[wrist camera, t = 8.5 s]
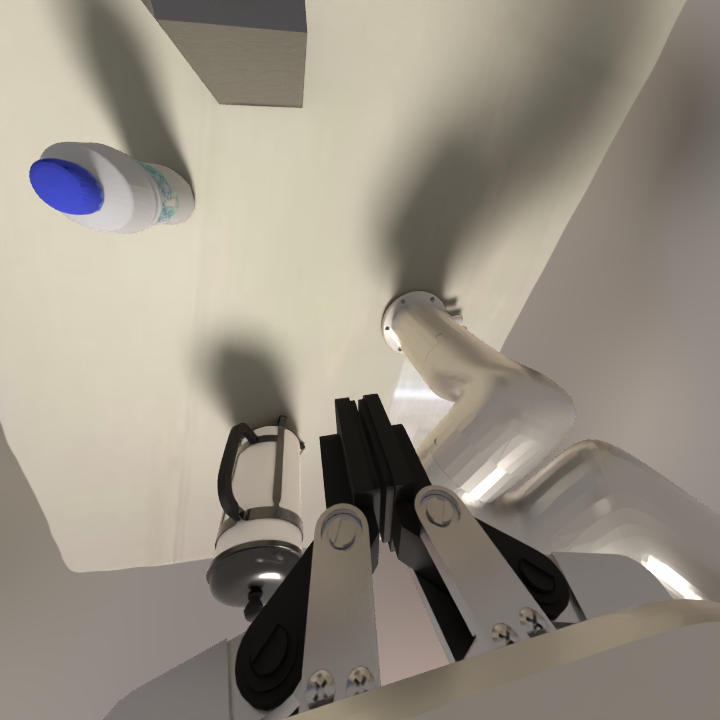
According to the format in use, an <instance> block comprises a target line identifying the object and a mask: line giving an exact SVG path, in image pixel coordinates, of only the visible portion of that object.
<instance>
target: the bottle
mask: <svg viewBox="0 0 720 720" xmlns="http://www.w3.org/2000/svg"><path fill="white" fill-rule="evenodd" d="M29 173H30V175H29V177H30V182H31V184H32V187H33V188H34V190H35V192H36V193H37V194H38V196H39V197H40V198H41V199H42V200H43V201H44V202H45V203H47V204H48V205H49V206H51V207H53V208H55V209H56V210H58V211H60V212H61V213H63V214H64V215H65V216H66V217H68V218H69V219H70V220H72V221H74V222H75V223H77V224H79V225H81V226H83V227H86V228H88V229H91V230H95V231H101V232H112V233H118V234H134V233H137V232H141V231H144V230H146V229H149V228H150V227H152V226H155V225H175V224H180V223H183V222H185V221H187V220H188V219H189V217H190V216H191V214H192V213H193V211H194V209H195V201H194V198H193V194H192V191H191V187H190V186H189V184H188V183H187V182H186V181H185V180H184V179H183V178H182V177H181V176H180V175H179V174H177V173H176V172H175V171H173V170H172V169H170V168H168V167H165V166H162V165H158V164H153V163H145V162H142V161H138V160H135V159H133V158H132V157H130V156H128V155H127V154H125V153H123V152H121V151H119V150H116V149H114V148H111V147H109V146H106V145H103V144H99V143H79V142H61V143H56V144H54V145H52V146H50V147H48V148H47V149H46V150H45V151H44V152H43V154H42V155H41V157H40V160H38V161H36V162H35V163H33V165H32V166H31V168H30V171H29Z"/></svg>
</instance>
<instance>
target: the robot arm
mask: <svg viewBox="0 0 720 720" xmlns="http://www.w3.org/2000/svg"><path fill="white" fill-rule="evenodd" d="M430 298H431V299H430ZM401 300H403V301H401ZM462 320H463V317H462V315H454V316H451V315H449V314H448V313H447V312H446V309H445V307H444V304H443V303H442V302H441V300H440V299H439V298H437V297H436V296H435V295H433V294H431V293H429V292H426V291H412V292H408V293H406V294H404V295H402V296H400V297H399V298H397V299H396V300H395V301H394V302H393V303H392V304H391V305H390V306H389V307H388V309H387V310H386V312H385V315H384V317H383V321H382V334H383V337H384V340H385V341H386V343H387V344H388V346H389V347H390V348H391V349H392V350H394V351H395V352H397V353H400V354H404V355H406V357H407V358H408V359H409V361H410V362H411V363H412V365H413V366H414V367H415V369H416V370H417V372H418V373H419V374H420V376H421V377H422V378H423V380H424V381H425V382H426V384H427V385H428V386H429V388H430V389H431V390H432V391H433V392H434V393H435V394H436V395H438V396H439V397H441V398H443V399H445V400H448V401H452V402H455V404H454V405H453V406H452V407H451V408H450V409H449V411H448V412H447V414H446V415H445V416H444V417H443V418H442V419H441V420H440V421H439V423H438V424H437V425H436V426H435V427H434V428H433V429H432V430H431V432H430V433H429V434H428V435H427V436H426V438H425V439H424V440H423V441H422V442H421V444H420V445H419V447H418V448H417V450H416V451H415V449H414V447H413V445H412V443H411V441H410V439H409V436H408V434H407V432H406V430H405V428H404V427H403V425H402V424H397V425H391V424H390V421H389V419H388V417H387V414H386V412H385V410H384V407H383V405H382V403H381V400H380V398H379V396H378V394H370V395H364V396H363V399H361V400H358V409H357V406H356V403H355V400H353V401H350V399H349V397H348V398H340V399H335V411H336V424H337V434H333V435H327V436H321V437H319V438H320V449H321V459H322V469H323V479H324V489H325V499H326V510H325V511H324V512H323V513H322V514H321V516H320V517H319V519H318V521H317V523H316V527H315V533H314V540H313V542H312V543H311V544H310V546H309V547H308V548H307V550H306V551H305V553H304V554H303V555H302V556H301V558H300V559H299V560H298V562H297V563H296V564H295V566H294V567H293V568H292V570H291V571H290V572H289V574H288V575H287V576H286V578H285V579H284V580H283V582H282V583H281V585H280V586H279V587H278V589H277V590H276V591H275V593H274V594H273V595H272V597H271V598H270V599H269V601H268V602H267V603H266V605H265V606H264V607H263V609H262V610H261V611H260V613H259V614H258V615H257V617H256V618H255V619H254V621H253V622H252V623H251V625H250V626H249V628H248V629H247V631H245V632H244V633H242V634H240V635H238V636H237V637H235V638H233V639H231V640H229V641H228V639H225V640H223V641H221V642H219V643H218V644H216V645H214V646H212V647H210V648H209V649H207V650H205V651H203V652H201V653H200V654H198V655H196V656H194V657H193V658H191V659H189V660H187V661H185V662H184V663H182V664H180V665H178V666H176V667H175V668H173V669H171V670H169V671H167V672H166V673H164V674H162V675H160V676H158V677H157V678H155V679H153V680H151V681H149V682H148V683H146V684H144V685H142V686H140V687H139V688H137V689H135V690H133V691H132V692H131V693H129V694H128V695H127V696H125V697H124V698H123V699H121V700H120V701H119V702H118V703H117V704H116V705H115V706H114V707H113V708H112V710H111V711H110V712H109V713H108V714H107V716H106V717H105V718H104V719H103V720H720V515H718V514H717V513H716V512H714V511H713V510H711V509H710V508H708V507H707V506H706V505H704V504H703V503H701V502H700V501H698V500H697V499H695V498H694V497H693V496H691V495H690V494H688V493H687V492H686V491H684V490H683V489H681V488H680V487H678V486H677V485H675V484H674V483H672V482H671V481H670V480H668V479H667V478H665V477H664V476H662V475H661V474H659V473H658V472H657V471H655V470H653V469H652V468H651V467H649V466H648V465H646V464H645V463H643V462H642V461H640V460H639V459H637V458H636V457H634V456H632V455H631V454H629V453H627V452H625V451H624V450H622V449H620V448H619V447H617V446H614V445H612V444H610V443H608V442H604V441H600V440H590V439H588V440H583V441H580V442H578V443H576V444H573V445H572V446H570V447H569V448H567V449H565V450H564V451H563V452H562V453H560V454H559V455H557V456H556V457H555V458H554V459H553V460H552V461H550V462H549V463H548V464H547V465H546V466H544V467H543V468H542V469H541V470H540V471H539V472H537V473H536V474H535V475H534V476H533V477H532V478H531V479H529V480H528V481H527V482H526V483H525V484H523V485H522V486H521V487H520V488H519V489H518V490H516V491H514V492H510V491H508V490H509V489H510V488H511V487H513V486H514V485H515V484H516V483H517V482H518V481H519V480H520V479H522V478H523V477H525V476H526V475H527V474H528V473H529V472H531V471H532V470H533V469H534V468H535V467H536V466H537V465H539V464H540V463H541V462H542V461H543V460H544V459H545V458H546V457H548V456H549V455H550V454H551V453H552V452H553V451H555V450H556V448H557V447H558V446H559V445H560V444H561V443H562V442H563V441H564V440H565V438H566V437H567V436H568V435H569V433H570V431H571V430H572V428H573V425H574V423H575V420H576V407H575V404H574V402H573V399H572V398H571V396H570V395H569V394H568V393H567V391H566V390H565V389H564V388H563V387H561V386H560V385H559V384H557V383H556V382H555V381H553V380H552V379H550V378H548V377H547V376H545V375H543V374H541V373H539V372H537V371H535V370H533V369H531V368H529V367H527V366H524V365H523V364H520V363H518V362H516V361H514V360H512V359H510V358H508V357H506V356H505V355H503V354H501V353H499V352H498V351H496V350H495V349H493V348H492V347H490V346H489V345H487V344H486V343H484V342H483V341H482V340H480V339H479V338H477V337H476V336H475V335H473V334H472V333H471V332H469V331H468V330H467V328H466V326H461V325H459V324H458V323H460V322H462ZM386 326H387V327H386ZM385 327H386V328H385ZM379 532H380V536H381V539H382V542H383V543H385V542H388V544H389V547H390V551H391V552H393V551H396V554H397V557H398V559H399V560H400V561H402V562H403V563H405V564H406V565H407V567H408V571H409V573H410V575H411V578H412V580H413V582H414V584H415V586H416V589H417V591H418V594H419V596H420V598H421V600H422V603H423V604H424V607H425V609H426V612H427V614H428V616H429V618H430V621H431V623H432V625H433V627H434V630H435V632H436V634H437V636H438V638H439V641H440V643H441V645H442V647H443V650H444V652H445V654H446V657H447V659H448V661H449V663H450V664H449V665H446V666H443V667H440V668H437V669H434V670H430V671H427V672H424V673H421V674H419V675H415V676H412V677H409V678H406V679H403V680H400V681H397V682H394V683H391V684H388V685H385V686H382V687H381V682H380V669H379V658H378V657H379V656H378V644H377V630H376V618H375V606H374V593H373V579H372V575H373V572H374V570H375V569H376V567H377V565H378V553H379Z"/></svg>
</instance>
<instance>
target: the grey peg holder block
mask: <svg viewBox="0 0 720 720" xmlns="http://www.w3.org/2000/svg"><path fill="white" fill-rule="evenodd" d="M141 1H142V2H143V3H144V5H145V6H146V7H147V9H148V10H149V11H150V13H151V14H152V15H153V17H154V18H155V19H156V21H157V22H158V23H159V25H160V26H161V27H162V29H163V30H164V31H165V33H166V34H167V35H168V36H169V38H170V39H171V40H172V42H173V43H174V44H175V46H176V47H177V48H178V50H179V51H180V52H181V54H182V55H183V56H184V58H185V59H186V60H187V62H188V63H189V64H190V66H191V67H192V68H193V70H194V71H195V72H196V74H197V75H198V76H199V78H200V79H201V80H202V82H203V83H204V84H205V86H206V87H207V88H208V90H209V91H210V92H211V93H212V95H213V96H214V97H215V99H216V100H217V101H218V103H219V104H225V105H248V106H271V107H294V108H302V105H303V90H304V74H305V59H306V44H307V23H306V10H305V0H141Z"/></svg>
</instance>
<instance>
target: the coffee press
mask: <svg viewBox="0 0 720 720" xmlns="http://www.w3.org/2000/svg"><path fill="white" fill-rule="evenodd" d="M286 421H287V417H286V416H282V415H280V417H279V420H278V423H277V426H266V427H262V428H258V429H256V430H254V431H253V430H252V429H251V428H250V427H249V426H248V425H247V424H245V423H240V424H238V425H235V426H234V427H233V428H232V429H231V431H230V434H229V437H228V440H227V444H226V447H225V450H224V454H223V457H222V461H221V465H220V469H219V474H218V496H219V500H220V503H221V506H222V508H223V513H222V517H221V521H220V527H219V531H218V535H217V539H216V543H215V554H214V559H213V560H212V562H211V563H210V565H209V567H208V571H207V575H206V577H207V582H208V584H209V585H210V590H211V593H212V595H213V596H214V597H215V598H216V599H217V600H218V601H219V602H221V603H223V604H225V605H228V606H232V607H245V609H244V614H245V618H246V620H247V621H249V622H253V621H254V619H255V618H256V617H257V615H258V614H259V613H260V611H261V610H262V609H263V605H264V604H266V603H267V602H268V601H269V599H270V598H271V597H272V595H273V594H274V593H275V591H276V590H277V589H278V587H279V586H280V585H281V583H282V582H283V580H284V579H285V578H286V576H287V575H288V574H289V572H290V571H291V570H292V568H293V567H294V566H295V564H296V563H297V562H298V560H299V559H300V558H301V556H302V555H303V554H304V553H303V551H302V540H303V522H302V520H301V474H300V454H301V453H302V452H303V450H304V449H305V446H304V445H303V444H299V441H298V439H297V437H296V436H295V435H294V434H293V433H292V432H291V431H289V430H287V429H285V425H286ZM241 437H242V438H243V440H242V442H241V440H240V439H241ZM240 444H241V445H240ZM300 449H301V452H300Z"/></svg>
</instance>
